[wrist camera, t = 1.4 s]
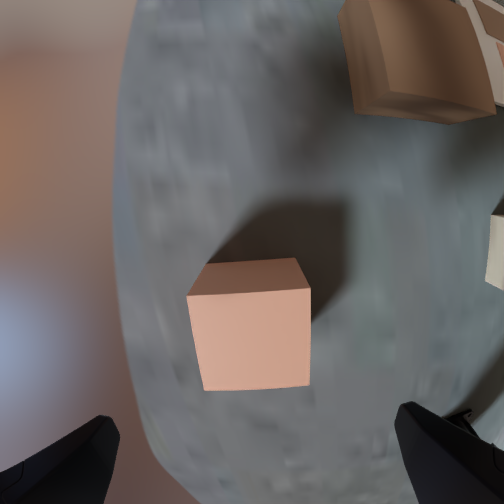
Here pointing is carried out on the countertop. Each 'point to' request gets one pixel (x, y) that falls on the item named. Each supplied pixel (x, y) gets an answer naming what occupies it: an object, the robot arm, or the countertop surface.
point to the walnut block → (415, 60)
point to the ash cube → (496, 253)
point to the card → (489, 40)
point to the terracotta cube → (252, 324)
